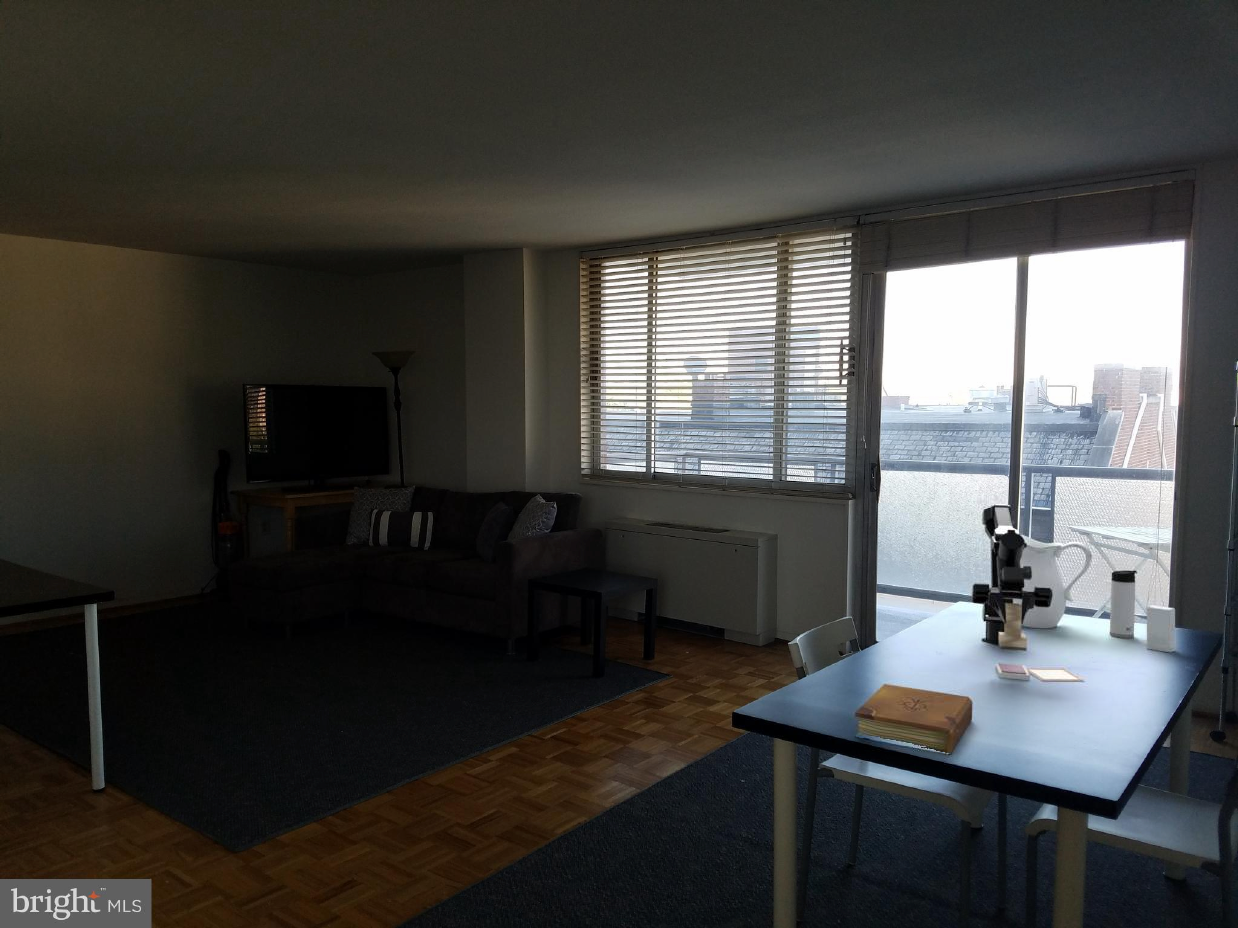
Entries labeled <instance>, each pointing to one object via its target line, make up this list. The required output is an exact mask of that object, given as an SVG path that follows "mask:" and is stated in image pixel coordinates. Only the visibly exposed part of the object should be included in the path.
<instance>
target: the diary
mask: <svg viewBox="0 0 1238 928" xmlns="http://www.w3.org/2000/svg"><path fill="white" fill-rule="evenodd" d="M854 717H855V718H858V731H859V734H866V735H868V736H875V737H880V738H883V739H890V740H896V741H901V742H906V743H912V744H914V745H918V746H919V745H920V746H926V747H921V748H927V749H928V748H929V749H934V750H936V751H940V752H945V753H950V755H951V754H952V752H953V751H954V749H955V747H956V746H957V744H958V743H959V741H960V740H961V738H962V736H963V734H964V733H965V731H966V730H967V728H968V726H969V725H970V723H971V721H972V720H973V699H971V698H970V696H966V695H960V694H955V693H954V694H952V693H946V692H940V691H934V690H929V689H928V690H926V689H920V688H915V687H908V686H907V687H906V686H900V685H894V684H889V683H888V684H887V683H884V684H882V685H881V687H880V688H878V690H876V691H875V692H874V693H873V694H872V695H871V697H869V698H868V699H867V700H866V701H865V702H864V703H863V704H861V706H860V707H859V708H858V709H857V710H856V711H855V712H854Z"/></svg>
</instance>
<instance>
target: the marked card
mask: <svg viewBox="0 0 1238 928" xmlns="http://www.w3.org/2000/svg"><path fill="white" fill-rule="evenodd" d="M1026 669H1027V671H1028V673H1029V675H1032V676H1033V677H1034V678H1036V679H1038V680H1039V681H1041V682H1086V680H1084V679H1083V678H1081V677H1079V676H1078V675H1076V674H1074V673H1073V672H1070V671H1069V670H1067V669H1065V668H1063V667H1061V668H1060V667H1059V668H1056V667H1054V668H1050V667H1049V668H1048V667H1046V668H1042V667H1041V668H1039V667H1035V668H1033V667H1029V668H1028V667H1026Z"/></svg>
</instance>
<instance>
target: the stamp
mask: <svg viewBox="0 0 1238 928" xmlns="http://www.w3.org/2000/svg"><path fill="white" fill-rule="evenodd" d="M1005 613H1006V623H1005V627H1004V632H999V645H998V646H999V649H1000V650H1006V651H1008V650H1009V651H1023V652H1027V649H1028V641H1027V640H1028V639H1027V636H1026V634H1025V633H1022V626H1021V616H1022V606H1021V605H1020V604H1014V603H1005Z"/></svg>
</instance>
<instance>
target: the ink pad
mask: <svg viewBox="0 0 1238 928" xmlns="http://www.w3.org/2000/svg"><path fill="white" fill-rule="evenodd" d="M994 667H995V671H996V673H997V675H998V678H999V679H1000V678H1001V679H1012V680H1024V681H1030V680H1031V679H1030V678H1031V676H1030V675H1031V674H1030V673H1028V671H1027V669H1026V668H1027V667H1026V665H1022V664H1013V663H995V666H994Z"/></svg>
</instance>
